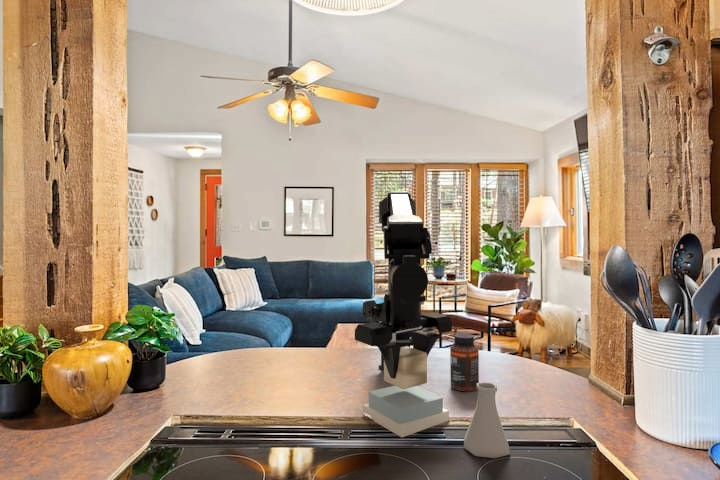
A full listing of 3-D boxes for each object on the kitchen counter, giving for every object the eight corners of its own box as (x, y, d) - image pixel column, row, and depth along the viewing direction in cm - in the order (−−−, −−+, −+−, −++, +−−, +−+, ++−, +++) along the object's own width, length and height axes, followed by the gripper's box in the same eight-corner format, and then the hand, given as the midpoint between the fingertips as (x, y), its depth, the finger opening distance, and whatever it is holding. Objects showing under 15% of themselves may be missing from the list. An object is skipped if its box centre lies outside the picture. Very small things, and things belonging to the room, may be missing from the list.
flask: (456, 438, 75) (457, 378, 75) (499, 436, 76) (500, 376, 75) (471, 461, 68) (471, 394, 68) (518, 458, 69) (519, 393, 68)
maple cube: (406, 374, 87) (406, 346, 87) (426, 383, 82) (426, 352, 82) (383, 380, 84) (383, 350, 84) (403, 389, 79) (403, 358, 79)
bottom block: (408, 404, 91) (408, 391, 91) (448, 424, 82) (449, 410, 82) (363, 418, 85) (363, 404, 85) (401, 441, 76) (401, 426, 76)
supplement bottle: (481, 385, 100) (481, 333, 99) (475, 394, 94) (476, 340, 94) (453, 381, 102) (454, 330, 102) (447, 390, 97) (447, 337, 96)
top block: (409, 394, 89) (409, 382, 89) (442, 411, 81) (442, 397, 81) (368, 404, 84) (368, 391, 84) (399, 424, 76) (399, 409, 76)
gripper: (414, 280, 94) (414, 355, 95) (337, 288, 84) (337, 373, 84) (454, 286, 85) (453, 369, 86) (373, 296, 75) (374, 391, 75)
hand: (405, 374), depth 83 cm, fingers closed on maple cube, 5 cm apart
